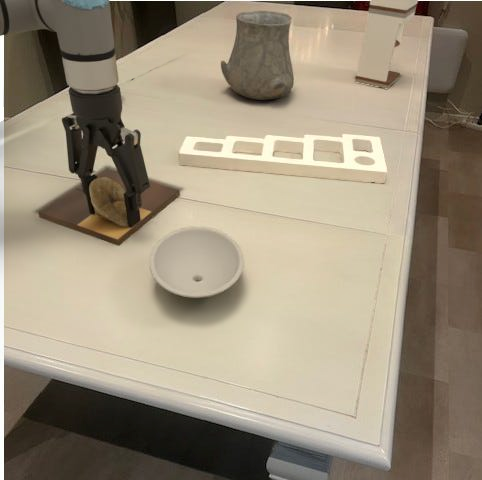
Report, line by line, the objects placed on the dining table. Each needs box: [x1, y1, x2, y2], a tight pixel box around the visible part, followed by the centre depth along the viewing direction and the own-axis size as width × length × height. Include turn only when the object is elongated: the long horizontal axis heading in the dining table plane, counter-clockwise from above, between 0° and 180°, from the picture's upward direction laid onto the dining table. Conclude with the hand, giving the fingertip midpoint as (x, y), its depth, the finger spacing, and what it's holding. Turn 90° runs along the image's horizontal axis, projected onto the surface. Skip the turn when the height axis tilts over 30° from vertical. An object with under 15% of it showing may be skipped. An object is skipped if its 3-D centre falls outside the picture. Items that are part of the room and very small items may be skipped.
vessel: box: [220, 10, 295, 101], centre depth 133 cm, size 22×22×20 cm
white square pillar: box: [354, 0, 419, 90], centre depth 141 cm, size 11×11×35 cm
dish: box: [148, 225, 245, 299], centre depth 75 cm, size 18×14×5 cm
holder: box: [178, 133, 388, 184], centre depth 111 cm, size 45×18×3 cm, turn 83°
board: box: [37, 167, 181, 246], centre depth 92 cm, size 18×20×1 cm
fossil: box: [89, 177, 128, 226], centre depth 86 cm, size 9×4×10 cm
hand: (115, 216), depth 87 cm, fingers closed on fossil, 8 cm apart
